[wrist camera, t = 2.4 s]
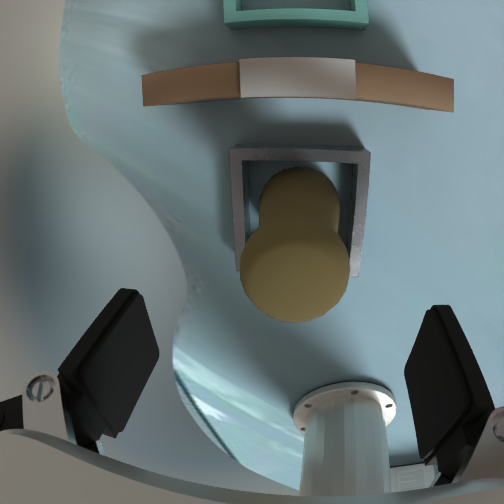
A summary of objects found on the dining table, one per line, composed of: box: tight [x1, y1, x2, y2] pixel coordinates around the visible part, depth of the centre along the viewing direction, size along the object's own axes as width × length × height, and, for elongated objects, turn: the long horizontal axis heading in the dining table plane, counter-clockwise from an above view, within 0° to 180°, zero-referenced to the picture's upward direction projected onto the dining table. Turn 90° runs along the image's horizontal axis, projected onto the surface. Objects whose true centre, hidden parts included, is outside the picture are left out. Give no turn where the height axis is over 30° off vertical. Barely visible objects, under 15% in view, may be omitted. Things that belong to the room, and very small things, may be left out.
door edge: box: [142, 57, 454, 112], centre depth 16 cm, size 2×18×5 cm, turn 92°
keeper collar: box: [229, 145, 371, 277], centre depth 22 cm, size 9×9×2 cm
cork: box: [240, 167, 350, 322], centre depth 18 cm, size 6×6×11 cm
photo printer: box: [390, 463, 435, 493], centre depth 34 cm, size 10×4×12 cm, turn 95°
